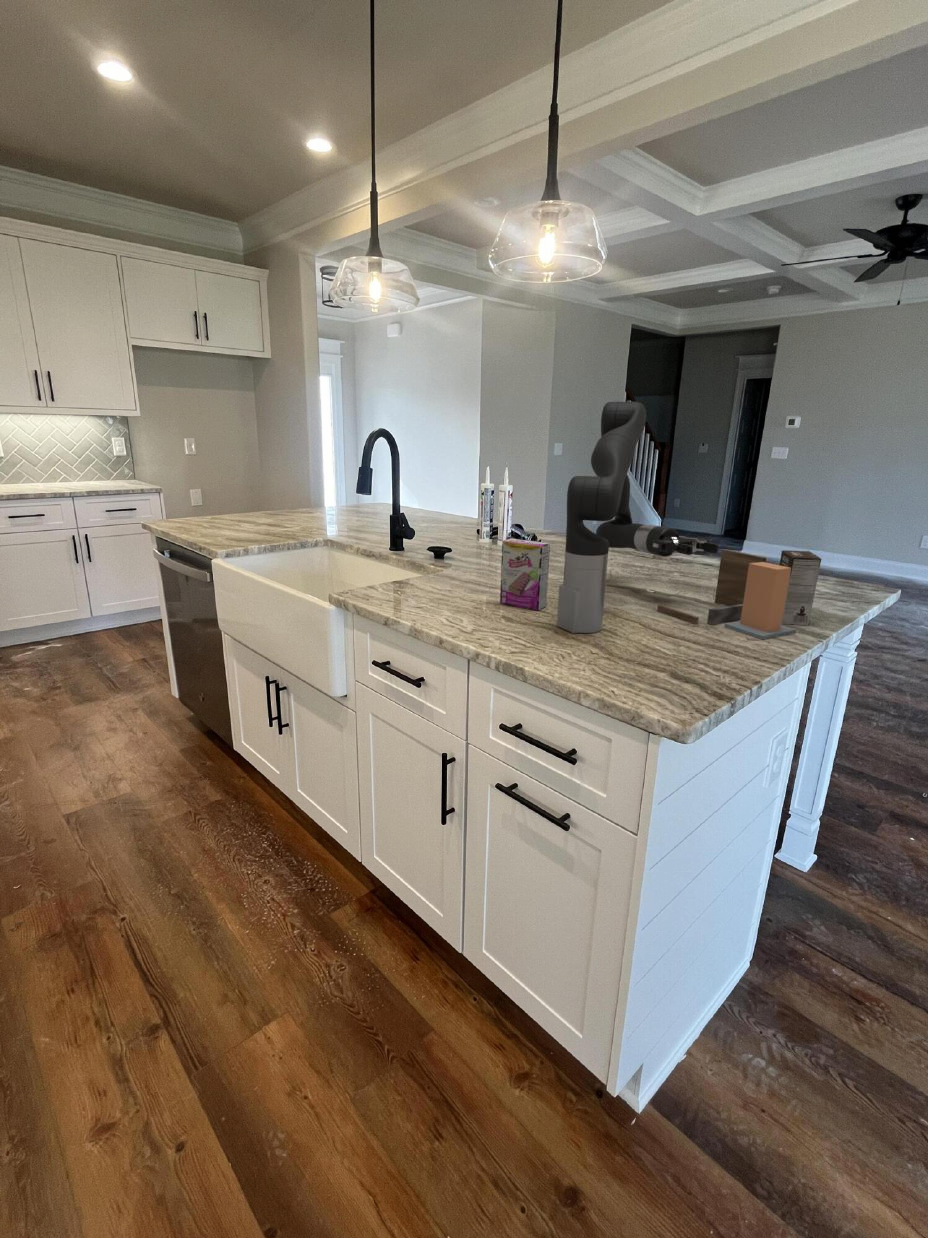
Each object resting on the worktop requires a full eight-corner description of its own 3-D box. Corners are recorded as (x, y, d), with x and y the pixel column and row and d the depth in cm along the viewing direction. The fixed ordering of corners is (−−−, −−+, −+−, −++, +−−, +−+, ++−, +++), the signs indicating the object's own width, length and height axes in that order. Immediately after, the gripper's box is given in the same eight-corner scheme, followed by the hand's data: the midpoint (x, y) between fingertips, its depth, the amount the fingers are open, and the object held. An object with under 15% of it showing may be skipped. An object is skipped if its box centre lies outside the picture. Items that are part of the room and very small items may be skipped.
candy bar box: (498, 604, 155) (501, 540, 150) (508, 600, 159) (510, 537, 154) (538, 611, 149) (542, 545, 144) (547, 607, 153) (551, 542, 148)
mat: (762, 639, 131) (763, 636, 130) (724, 626, 139) (724, 623, 139) (795, 633, 135) (796, 629, 135) (756, 621, 144) (757, 617, 144)
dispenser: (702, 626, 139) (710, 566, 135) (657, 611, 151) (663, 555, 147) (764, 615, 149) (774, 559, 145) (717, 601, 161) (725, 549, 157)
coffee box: (769, 613, 151) (780, 549, 146) (797, 615, 149) (809, 550, 145) (780, 624, 142) (792, 556, 137) (810, 626, 141) (823, 557, 136)
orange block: (766, 632, 133) (777, 569, 129) (739, 623, 139) (749, 563, 135) (780, 629, 135) (791, 567, 131) (753, 621, 141) (762, 561, 137)
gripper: (636, 526, 156) (684, 535, 142) (677, 525, 162) (727, 533, 149) (633, 555, 158) (680, 566, 144) (674, 552, 165) (722, 563, 151)
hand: (704, 549), depth 147 cm, fingers open, 8 cm apart
